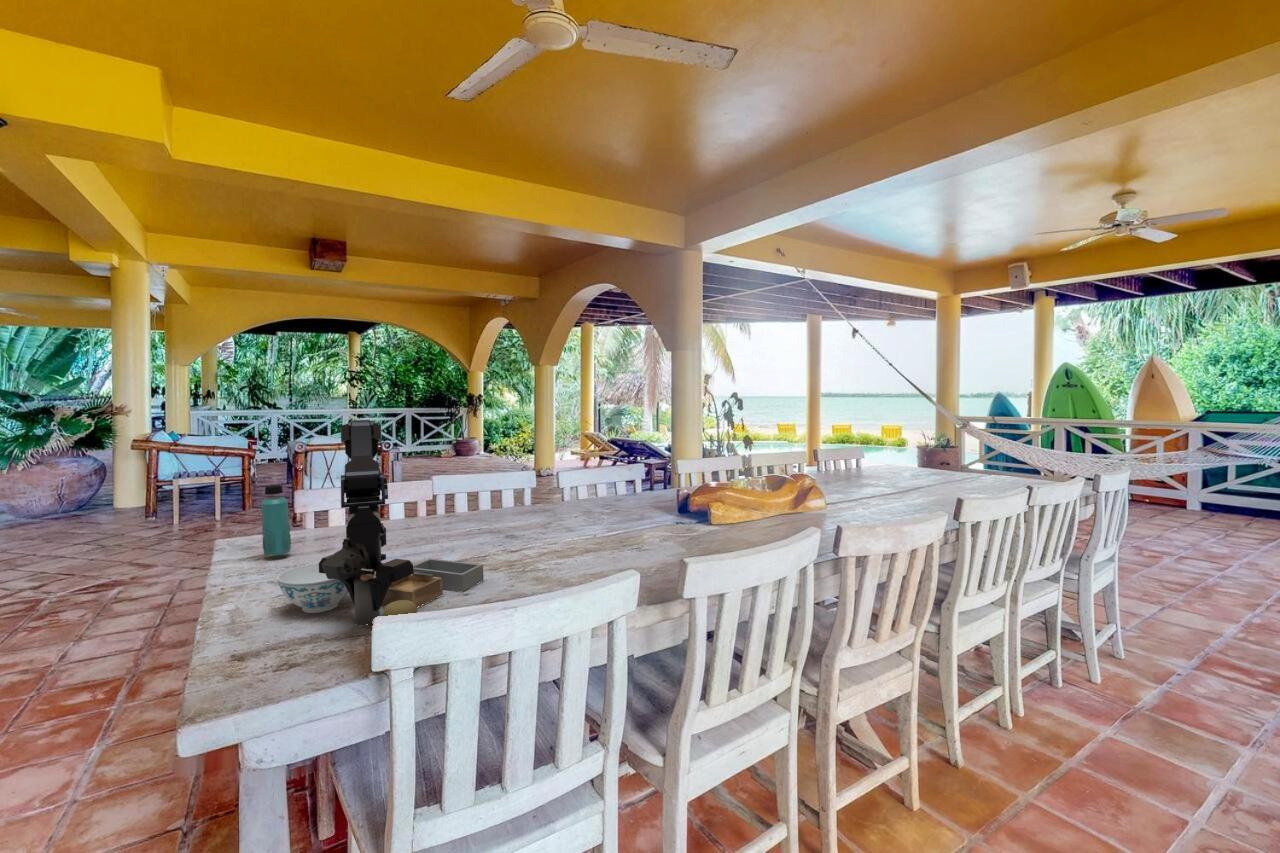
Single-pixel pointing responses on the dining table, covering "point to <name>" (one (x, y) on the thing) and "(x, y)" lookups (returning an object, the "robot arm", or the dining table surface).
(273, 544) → the beverage bottle
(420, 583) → the plate
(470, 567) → the trough
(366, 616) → the battery cell
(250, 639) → the dining table surface
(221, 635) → the dining table surface
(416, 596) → the frame
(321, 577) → the chinaware
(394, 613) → the cork
